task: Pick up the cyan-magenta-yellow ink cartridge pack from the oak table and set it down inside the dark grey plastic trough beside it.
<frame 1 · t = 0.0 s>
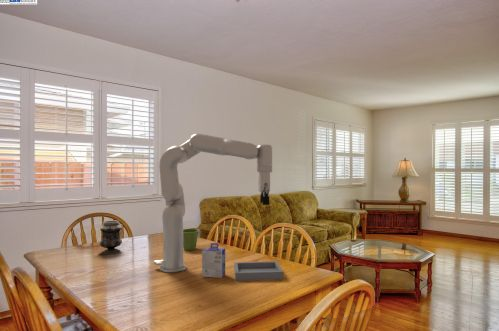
hand: (264, 203, 166), 31 cm above the table, tool pointing down, fingers open, 9 cm apart
plant pot: (189, 249, 201), on the table
trough: (257, 274, 154), on the table
ink cartridge box: (213, 276, 153), on the table
apothecary jar: (111, 252, 195), on the table
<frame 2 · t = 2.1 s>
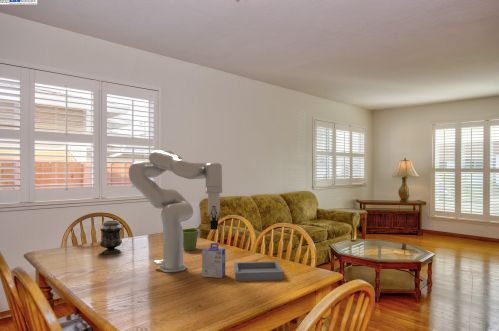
hand: (214, 227, 152), 22 cm above the table, tool pointing down, fingers open, 9 cm apart
nothing on the table moved.
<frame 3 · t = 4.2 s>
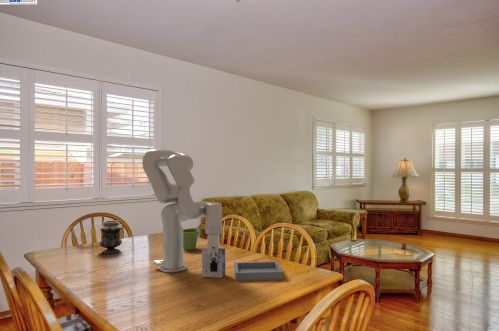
hand: (214, 268, 152), 3 cm above the table, tool pointing down, fingers closed on ink cartridge box, 6 cm apart
ink cartridge box: (214, 276, 152), on the table, touching gripper
everything else where it was.
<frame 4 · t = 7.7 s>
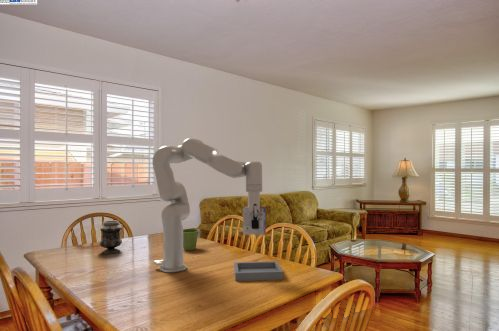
hand: (254, 226, 154), 22 cm above the table, tool pointing down, fingers closed on ink cartridge box, 6 cm apart
ink cartridge box: (254, 234, 154), point 19 cm above the table, touching gripper
everything else where it was.
when the fingers open (5 cm above the table, at t = 11.4 s): ink cartridge box drops 1 cm, resting on trough.
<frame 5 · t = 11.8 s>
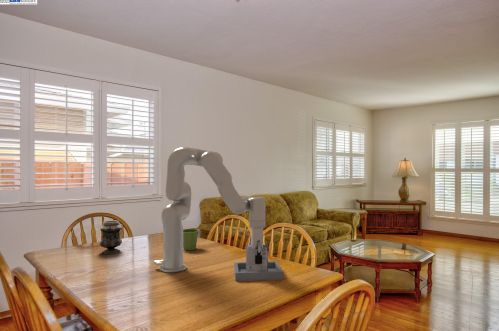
hand: (257, 260, 154), 6 cm above the table, tool pointing down, fingers open, 9 cm apart
ink cartridge box: (257, 272, 154), point 1 cm above the table, touching trough
everything else where it was.
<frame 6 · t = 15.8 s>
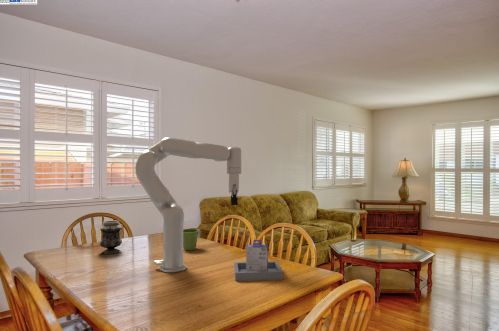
hand: (234, 204, 173), 30 cm above the table, tool pointing down, fingers open, 9 cm apart
nothing on the table moved.
at the end: ink cartridge box inside the target area on the trough (0.3 cm from its centre), point 0.8 cm above the trough's base; ink cartridge box tilted 0°; the gripper is holding nothing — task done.
